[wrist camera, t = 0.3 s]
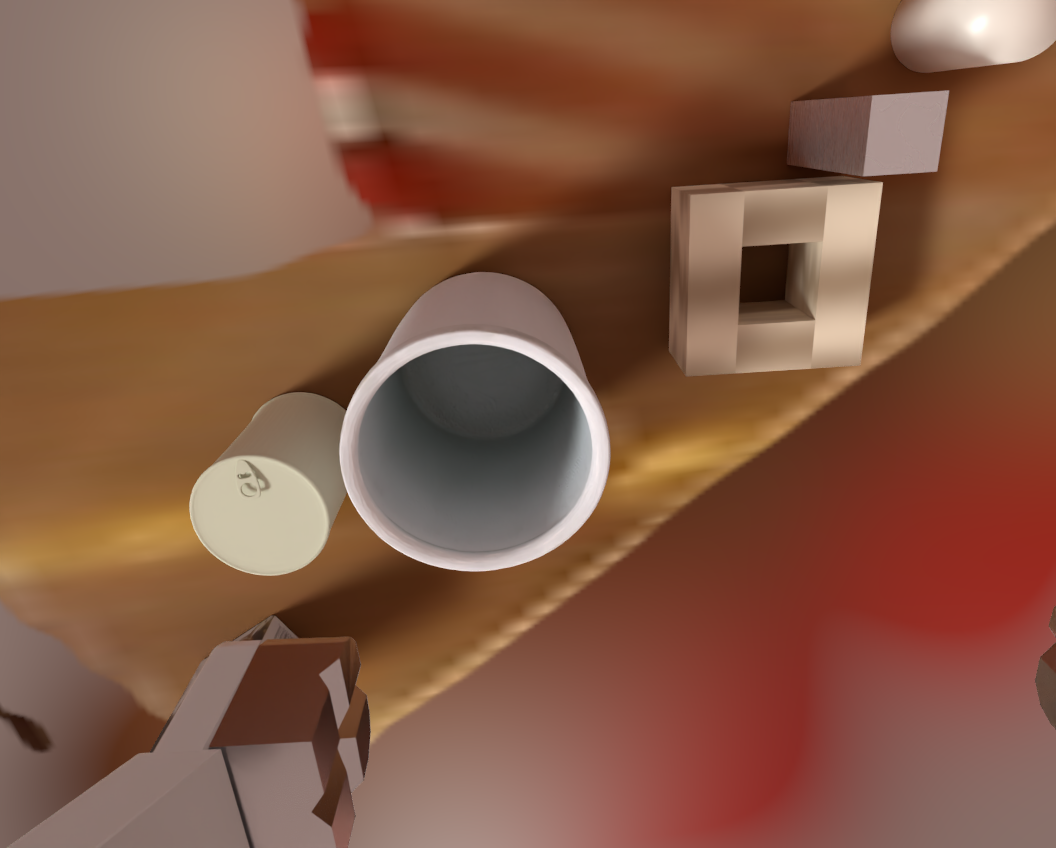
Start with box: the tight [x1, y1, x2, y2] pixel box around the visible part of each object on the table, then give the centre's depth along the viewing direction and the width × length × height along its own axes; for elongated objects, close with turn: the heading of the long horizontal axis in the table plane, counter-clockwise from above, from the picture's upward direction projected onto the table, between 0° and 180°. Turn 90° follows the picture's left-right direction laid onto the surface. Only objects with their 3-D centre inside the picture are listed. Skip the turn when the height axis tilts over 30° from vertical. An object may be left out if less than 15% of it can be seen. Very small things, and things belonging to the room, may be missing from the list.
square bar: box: [787, 90, 949, 176], centre depth 44 cm, size 4×4×12 cm
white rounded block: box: [891, 0, 1056, 73], centre depth 43 cm, size 6×6×9 cm
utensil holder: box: [339, 272, 610, 571], centre depth 47 cm, size 15×15×18 cm
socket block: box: [669, 176, 883, 376], centre depth 50 cm, size 12×12×6 cm
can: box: [190, 392, 347, 576], centre depth 52 cm, size 9×9×12 cm
